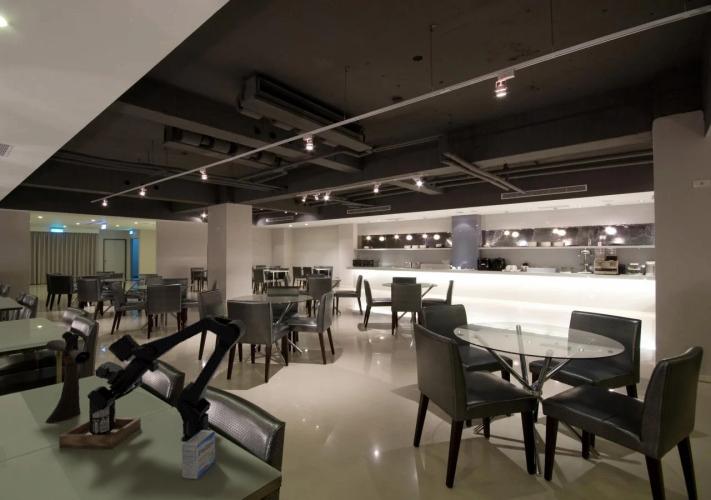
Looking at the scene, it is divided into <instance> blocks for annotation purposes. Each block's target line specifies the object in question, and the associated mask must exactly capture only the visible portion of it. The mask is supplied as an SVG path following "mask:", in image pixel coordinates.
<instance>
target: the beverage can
mask: <svg viewBox="0 0 711 500" xmlns="http://www.w3.org/2000/svg"><path fill="white" fill-rule="evenodd" d="M107 389H108V390H111V389H110V388H107ZM88 400H89V401H88V404H89V408H88V409H89V411H90V409H91V407H92V405H93V402H92V401H91V400H90V399H88ZM89 411H88V413H89ZM115 417H116V400H115V401H114V402H113V404H112V405H110V406H109V407H107V408H105V409H104V410H100V411H98V412H95V413H93V414H90V413H89V418H88V420H89V425H90V433H91V434H92V435H102V434H106V433H108V432H110V431H112V430H113V428H114V427H115Z"/></svg>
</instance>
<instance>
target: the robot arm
mask: <svg viewBox="0 0 711 500" xmlns="http://www.w3.org/2000/svg"><path fill="white" fill-rule="evenodd" d="M204 331H208V332H211V333H213V334H215V335H216V336H218V340H217V345H216V347H215V349H214V350H213V352H212V353H211V354H210V357H209V358H208V360H207V362H206V363H205V364H204V367H203V368H202V369H201V371H200V373H199V374H198V376H197V378H196V379H195V381H194V382H193V381H191V382H189V383H188V384H187V385H185V386H184V387H183V389H181V390H182V391H181V393H180V395H179V397H177V398H176V400H175V401H177V402H176V405H175V407H176V410H177V412H178V413H179V414H180V415H179V416H180V417H181V420H182V435H183V436H182V437H181V438H180V439H181V441H188V440H189V439H191V438H192V437H193V436H195V435H196V434H197V433H198V432H200V431H201V430H209V431H212V429H211V428H209V413H207V412H208V411H209V410H210V407H211V406H212V405H211V402H210V401H209V400H207V399H206V398H205V396H206V394H207V390H208V386H209V384H210V382H211V381H212V380H213V378H214V376H215V374H216V373H217V372H218V370H219V368H220V366H221V365H222V363H223V362H224V360H225V358H226V356H227V355H228V353H229V352H230V350H231V349H232V348H233V347H234V346H235V345H236V343H237V342H238V341H239V340H240V339H241V338H242V337H243V336H244V334H245V333H246V331H247V327H246V324H245V322H244V321H243V320H241V319H234V320H233V319H229V318H225V317H219V316H216V315H213V314H208V315H206V316H204V317H202V318H201V319H200V320H197V321H196V322H194V323H192V324H190V325H188V326H185V327H184V328H183V329H181V330H178V331H176V332H174V333H172V334H169V335H168V334H167V335H165V336H162V337H158V338H156V339H154V340H151V341H150V342H147V343H142V344H139V343H138V342H136V340H135V339H134V338H133V337H132V336H131V335H130V334H129V333H126V334H123V336H122V337H121V338H118V339H117V340H116V341H114V342H113V343H111V344H110V346H109V347H108V348H107V350H108V351H109V352H110V353H111V354H112V355H113V356H114V357H115V358H117V360H118V361H120V362H121V363H124V362H126V363H128V362H129V363H128V364H127V365H126V366H125V367H123V366H122V365H120V364H117V363H115V362H112V361H107V362H103V363H102V364H100V365H99V366H98V367H97V368H96V369H95V370H94V372H95V374H94V375H95V377H98V378H99V379H105V380H107V381H106V384H107V385H110V386H109V387H108V388H107V387H106V386H104V385H103V386H101V385H100V386H98V387H96V388H94V389H93V390H91V391H90V392H89V393H88V394H86V395H87V398H88V400H91V401H92V402H93V405H92V407H91V409H90V411H88V413H90V414H93V413H95V412H98V411H100V410H104V409H105V408H107V407H109V406H110V405H112V404H113V402H114V401H115V402H116V401H117V400H119V399H121V398H123V397H124V396H127V395H129V394H130V393H132V392H133V391H135V390H136V389H138V388H139V387H140V386H141V385H143V376H144V375H145V374H146V373H147V372H148V371H149V372H151V373H154V372H155V371H157V370H159V368H160V365H159V361H158V359H159V358H161V357H164V356H165V355H166V354H168V353H169V352H171V351H172V350H173V349H174V348H176V347H177V346H178V345H179V344H181V343H183V342H185V341H187V340H189V339H192V338H193V337H195V336H196V335H199V334H201V333H203V332H204ZM156 360H157V361H156ZM108 389H111V390H108Z"/></svg>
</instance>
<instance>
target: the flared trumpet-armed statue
mask: <svg viewBox="0 0 711 500" xmlns="http://www.w3.org/2000/svg"><path fill="white" fill-rule="evenodd" d="M61 338H62V339H63V340H64V341H63V340H60V339H54V340H53V339H52V340H50V341H48V342H47V343H46V344H45V348H46V350H48V351H51V352H62V358H63V360H64V361H63V362H64V363H63V364H64V378H63V379H64V380H63V385H62V388H61V389H62V390H61V394H60V398H59V401H58V403H57V404H56V407H55V408H54V410H53V411H52V412H51V414H50V415H49V416H48V418H47V419H46V420H45V423H48V424H50V423H58V422H62V421H65V420H70V419H73V418H75V417H78V416H79V415H80V414H81V406H80V380H79V379H80V378H79V365H84V364H85V363H88V361H89V360H90V358H91V353H90V351H88V350H80V349H79V339H80V333H73V332H72V331H65V332H64V333H62V335H61Z"/></svg>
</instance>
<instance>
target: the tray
mask: <svg viewBox="0 0 711 500" xmlns="http://www.w3.org/2000/svg"><path fill="white" fill-rule="evenodd" d="M141 425H142V423H141V417H123V416H122V417H121V416H119V417H117V416H115V427H114V428H113V430H112V431H110V432H108V433H106V434H102V435H92V434H91V433H90V425H89V419H87V420H85V421H84V422H82V423H80V424H78V425H76V426H75V427H73V428H71V429H70V430H68V431H66V432H63V433H62V434H60V435H59V438H58V439H59V441H58V442H59V443H58V445H59V448H60V449H79V450H80V449H81V450H82V449H84V450H107V451H108V450H113V449H115V448H116V447H118V446H119V445H120V444H122V442H124V441H126V440H127V439H128V438H130V437H131V436H133V435H134V434H135V433H137V432H138V431H139V430H141V429H142V428H141Z"/></svg>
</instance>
